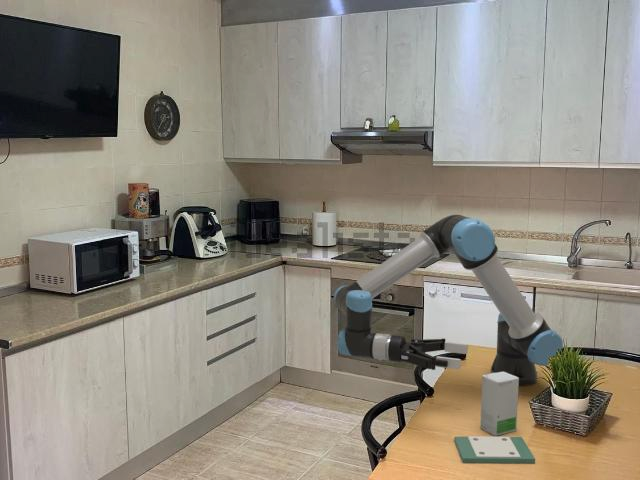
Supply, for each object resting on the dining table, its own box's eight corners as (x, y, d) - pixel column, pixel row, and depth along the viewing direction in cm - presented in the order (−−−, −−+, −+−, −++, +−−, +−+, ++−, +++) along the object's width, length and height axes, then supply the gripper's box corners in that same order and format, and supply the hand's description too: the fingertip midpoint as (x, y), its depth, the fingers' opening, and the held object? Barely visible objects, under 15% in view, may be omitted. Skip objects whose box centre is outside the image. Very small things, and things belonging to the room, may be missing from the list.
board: (462, 462, 164) (463, 457, 164) (454, 440, 176) (454, 435, 175) (534, 463, 163) (535, 457, 163) (521, 441, 175) (521, 435, 175)
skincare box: (494, 437, 178) (497, 382, 175) (478, 427, 183) (480, 374, 181) (517, 430, 181) (520, 377, 179) (501, 421, 187) (503, 369, 185)
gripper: (399, 347, 202) (469, 355, 195) (378, 374, 179) (456, 385, 172) (400, 323, 201) (470, 331, 194) (379, 348, 178) (457, 357, 170)
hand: (464, 356), depth 183 cm, fingers open, 13 cm apart
